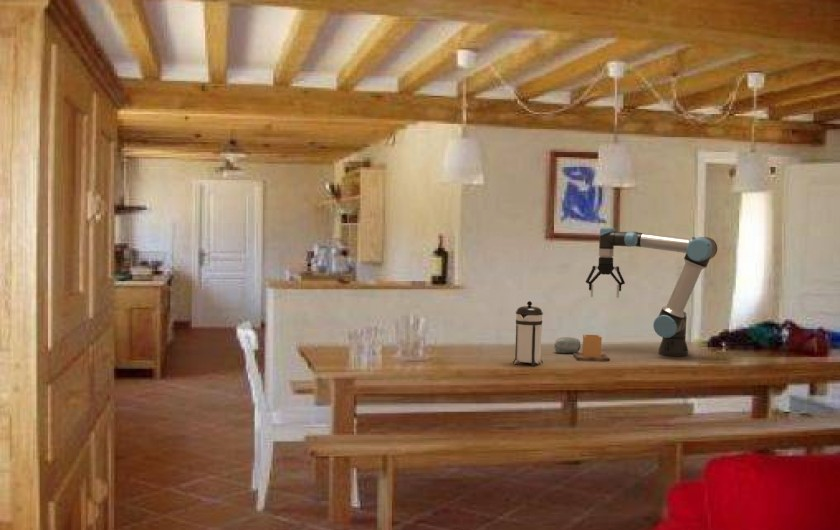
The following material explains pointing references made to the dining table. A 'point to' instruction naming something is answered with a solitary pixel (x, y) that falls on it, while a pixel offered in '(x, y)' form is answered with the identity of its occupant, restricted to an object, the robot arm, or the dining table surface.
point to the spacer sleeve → (592, 345)
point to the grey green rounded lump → (567, 345)
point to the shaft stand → (581, 358)
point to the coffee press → (528, 334)
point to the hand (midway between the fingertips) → (604, 297)
